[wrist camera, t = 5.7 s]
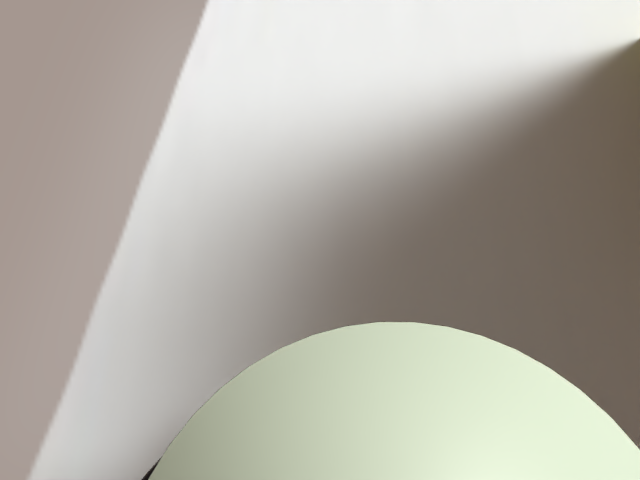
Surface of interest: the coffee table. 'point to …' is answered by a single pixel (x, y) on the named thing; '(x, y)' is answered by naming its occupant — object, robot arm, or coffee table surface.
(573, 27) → the coffee table surface
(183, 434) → the sage peg
